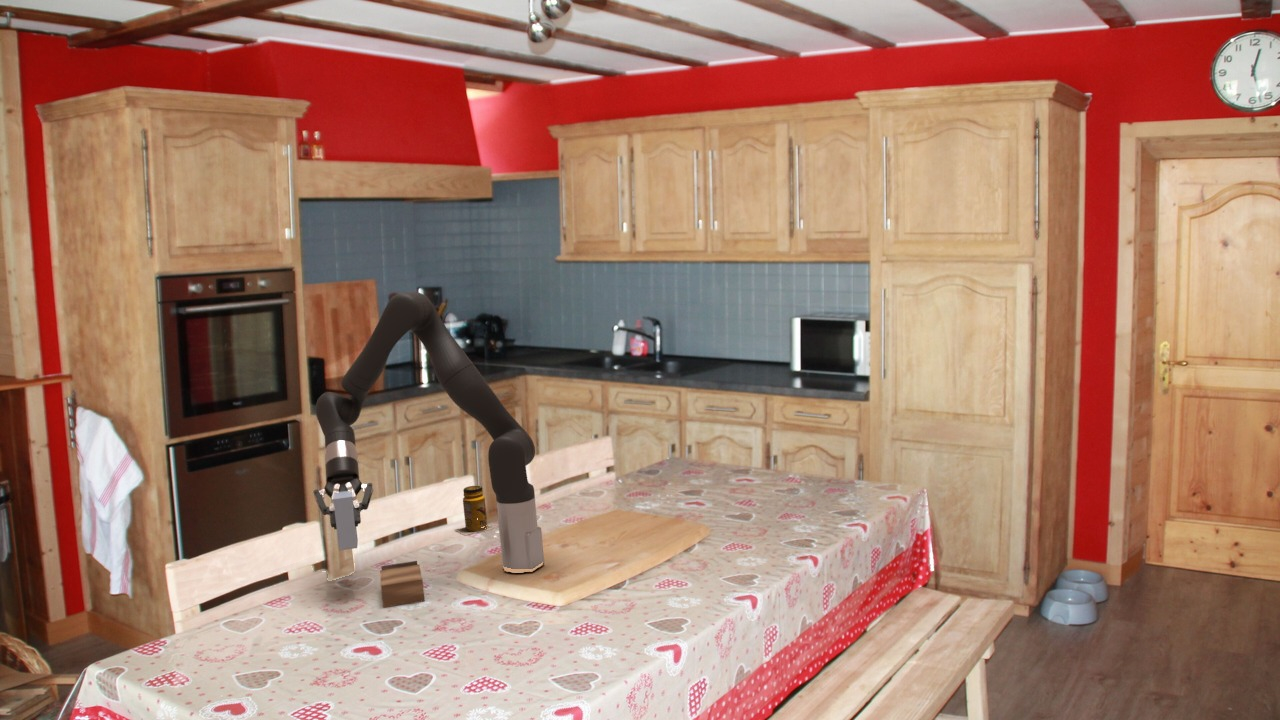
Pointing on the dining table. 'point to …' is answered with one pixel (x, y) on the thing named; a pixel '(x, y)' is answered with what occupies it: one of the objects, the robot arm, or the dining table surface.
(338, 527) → the tall grey pillar
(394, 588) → the wooden grain block
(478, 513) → the condiment
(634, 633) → the dining table surface
